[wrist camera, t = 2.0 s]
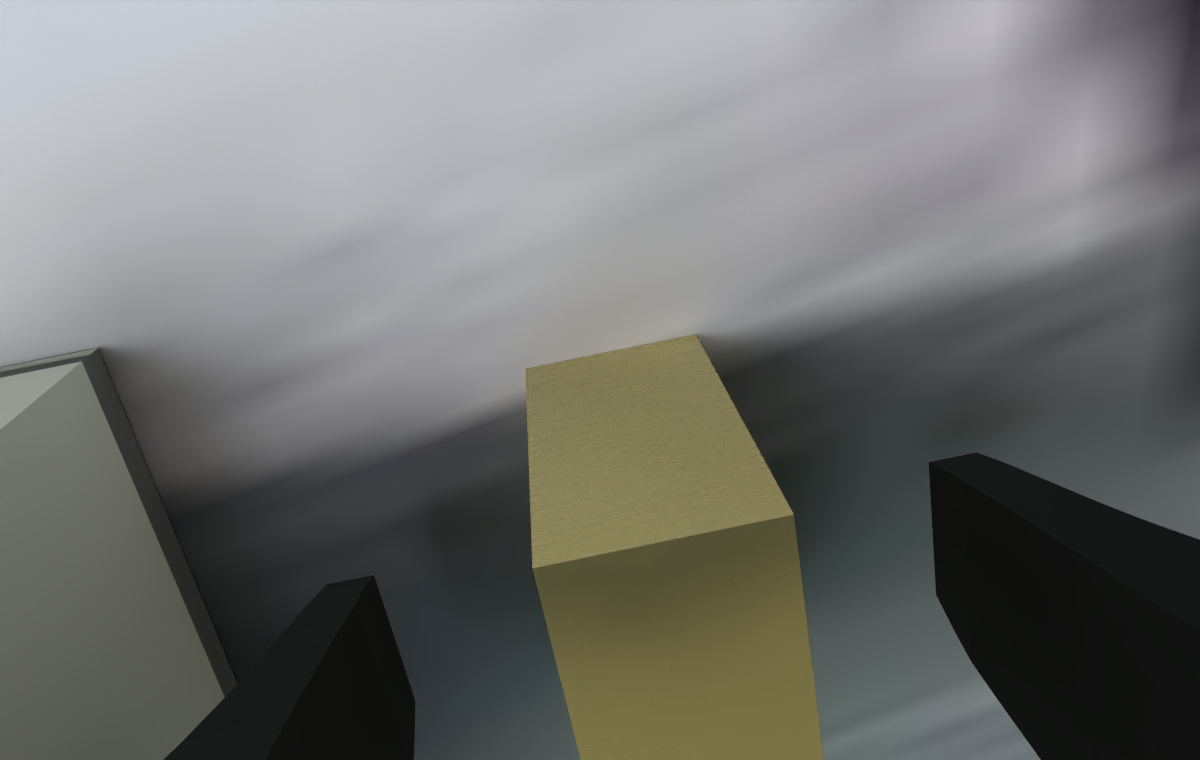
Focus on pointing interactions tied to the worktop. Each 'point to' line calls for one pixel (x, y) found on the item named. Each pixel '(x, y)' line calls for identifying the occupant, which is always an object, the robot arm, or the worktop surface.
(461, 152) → the worktop surface
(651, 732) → the block
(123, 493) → the box
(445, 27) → the worktop surface
